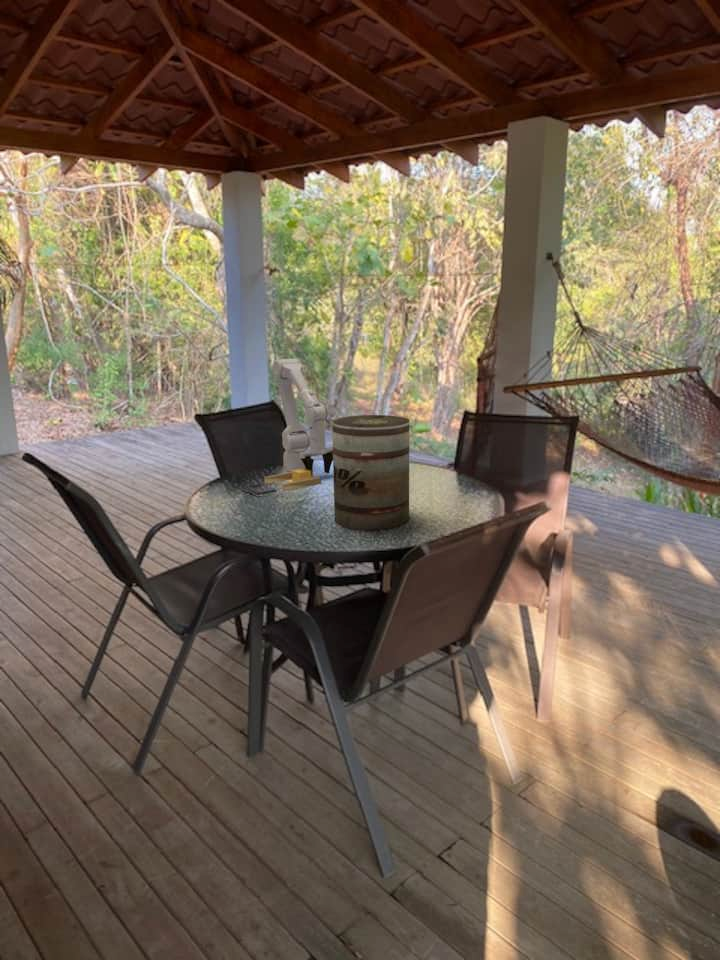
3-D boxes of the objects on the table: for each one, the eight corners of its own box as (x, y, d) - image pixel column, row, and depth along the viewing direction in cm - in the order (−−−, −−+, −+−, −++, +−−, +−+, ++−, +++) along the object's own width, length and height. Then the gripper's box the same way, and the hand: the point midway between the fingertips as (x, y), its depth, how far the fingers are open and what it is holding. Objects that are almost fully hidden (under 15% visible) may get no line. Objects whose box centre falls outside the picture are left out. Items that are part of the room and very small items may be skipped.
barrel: (332, 510, 211) (330, 416, 203) (402, 507, 213) (402, 414, 205) (337, 533, 189) (334, 428, 181) (415, 529, 191) (415, 426, 184)
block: (292, 481, 244) (292, 470, 243) (303, 479, 247) (303, 468, 246) (300, 483, 240) (299, 473, 239) (311, 481, 243) (311, 470, 242)
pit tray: (242, 490, 235) (242, 487, 235) (259, 487, 239) (259, 483, 239) (258, 497, 227) (258, 493, 226) (275, 493, 231) (275, 489, 230)
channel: (264, 485, 242) (264, 477, 241) (299, 478, 251) (298, 470, 250) (285, 493, 231) (285, 484, 230) (321, 485, 240) (320, 477, 239)
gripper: (307, 442, 237) (308, 479, 240) (339, 437, 245) (340, 473, 249) (296, 439, 242) (297, 476, 245) (328, 434, 251) (329, 469, 254)
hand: (318, 474), depth 248 cm, fingers open, 7 cm apart
